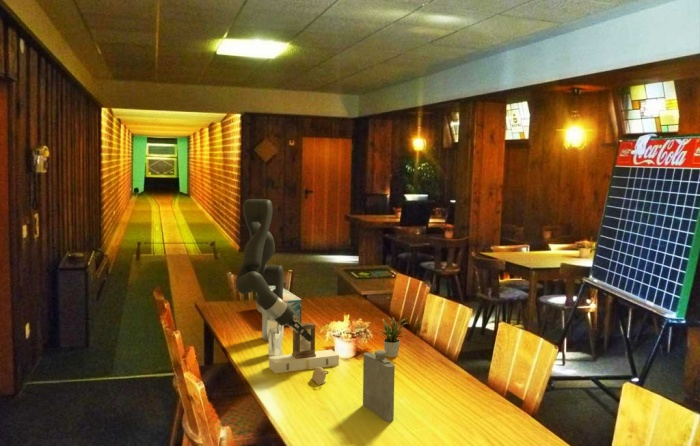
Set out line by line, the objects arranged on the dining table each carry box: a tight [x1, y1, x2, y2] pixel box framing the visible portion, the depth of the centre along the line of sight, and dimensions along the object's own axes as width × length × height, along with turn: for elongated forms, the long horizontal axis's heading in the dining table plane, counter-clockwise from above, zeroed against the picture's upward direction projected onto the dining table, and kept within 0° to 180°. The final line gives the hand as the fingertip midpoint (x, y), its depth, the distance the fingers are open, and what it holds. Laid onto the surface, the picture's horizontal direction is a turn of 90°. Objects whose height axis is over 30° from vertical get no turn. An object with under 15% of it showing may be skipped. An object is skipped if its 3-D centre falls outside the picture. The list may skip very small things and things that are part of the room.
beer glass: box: [267, 317, 285, 357], centre depth 261 cm, size 7×7×15 cm
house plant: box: [378, 316, 408, 358], centre depth 262 cm, size 14×14×16 cm
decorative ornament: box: [310, 367, 330, 386], centre depth 230 cm, size 4×8×5 cm, turn 27°
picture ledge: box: [268, 349, 340, 374], centre depth 247 cm, size 26×8×4 cm, turn 114°
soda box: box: [255, 286, 303, 327], centre depth 325 cm, size 41×14×13 cm, turn 22°
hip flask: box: [362, 349, 396, 423], centre depth 202 cm, size 16×4×20 cm, turn 29°
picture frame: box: [291, 322, 316, 359], centre depth 246 cm, size 8×5×12 cm, turn 114°
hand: (307, 337), depth 247 cm, fingers open, 8 cm apart
